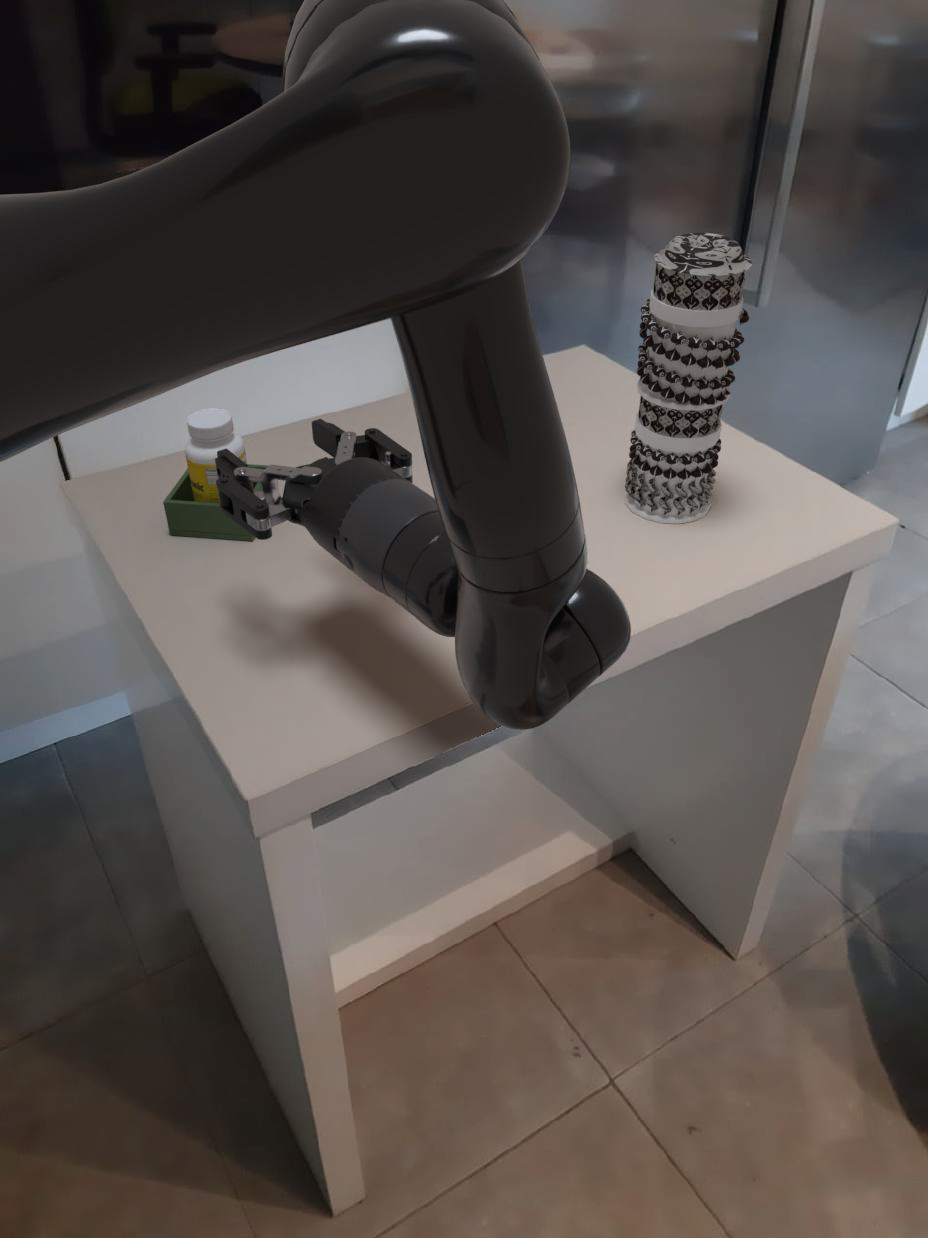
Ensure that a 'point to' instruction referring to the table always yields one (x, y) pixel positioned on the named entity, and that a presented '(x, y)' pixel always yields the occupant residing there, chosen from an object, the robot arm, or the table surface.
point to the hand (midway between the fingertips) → (270, 444)
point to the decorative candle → (685, 376)
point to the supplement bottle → (209, 450)
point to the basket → (201, 514)
